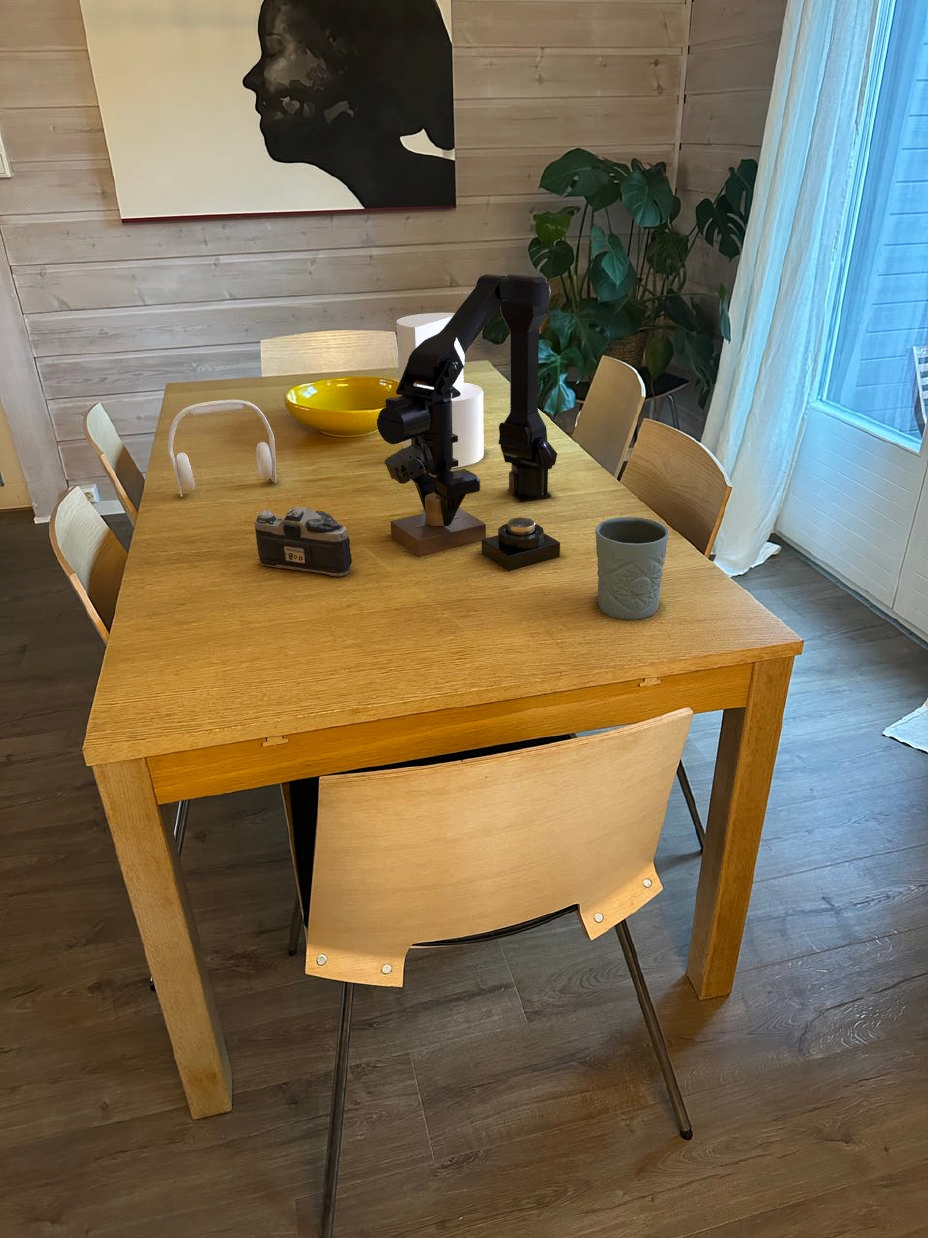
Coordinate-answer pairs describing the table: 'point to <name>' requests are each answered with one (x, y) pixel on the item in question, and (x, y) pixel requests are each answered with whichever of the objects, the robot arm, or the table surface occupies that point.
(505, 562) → the switch block
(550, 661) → the table surface
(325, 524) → the camera
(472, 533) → the console
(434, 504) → the volume knob
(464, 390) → the cylinder
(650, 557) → the grey embossed cup
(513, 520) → the power button
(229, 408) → the headset
